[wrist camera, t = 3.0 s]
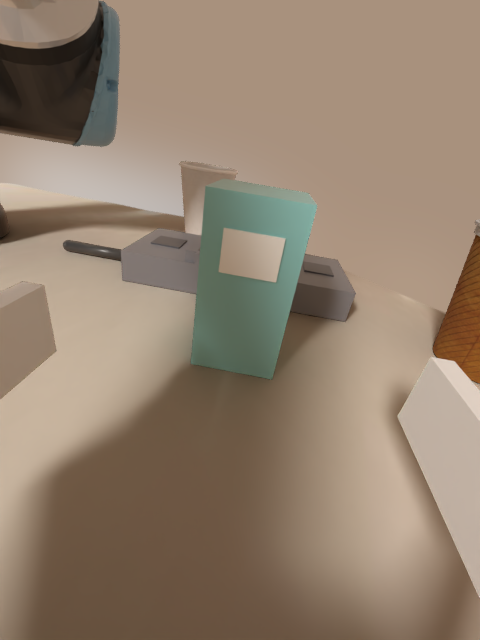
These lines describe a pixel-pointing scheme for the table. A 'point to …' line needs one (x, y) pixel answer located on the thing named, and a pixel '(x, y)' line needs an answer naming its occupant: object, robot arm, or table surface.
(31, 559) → the table surface
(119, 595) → the table surface
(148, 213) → the table surface
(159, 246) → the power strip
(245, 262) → the teal tall block
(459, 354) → the disposable coffee cup
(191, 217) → the dixie cup
